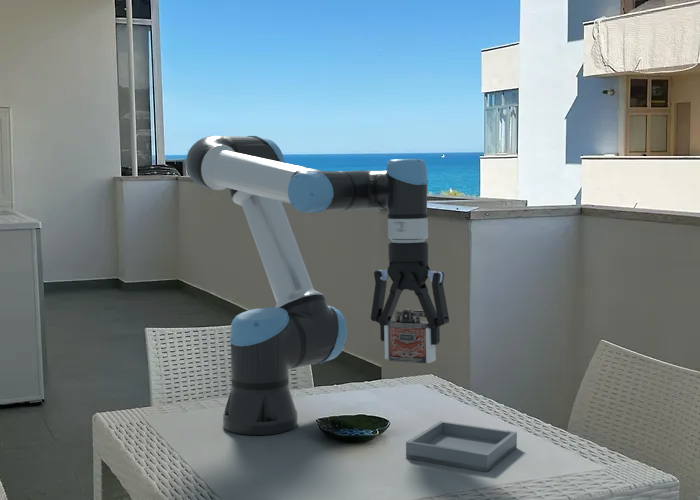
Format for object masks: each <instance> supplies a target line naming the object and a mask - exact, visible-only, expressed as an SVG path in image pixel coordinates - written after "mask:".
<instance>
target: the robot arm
mask: <svg viewBox="0 0 700 500" xmlns="http://www.w3.org/2000/svg"><path fill="white" fill-rule="evenodd" d="M185 169H186V171H187V175H188V176H189V177H190V179H191V180H192V181H193V183H195V184H197V186H200V187H202V188H206V189H211V190H215V191H222V190H228V191H229V193H230V196H231V199H232V201H233V203H235V204H236V205H238V206H242V210H243V212H244V215H245V218H246V221H247V224H248V227H249V230H250V232H251V235H252V237H253V240H254V243H255V246H256V249H257V251H258V255H259V257H260V261H261V262H262V266H263V268H264V271H265V274H266V277H267V280H268V283H269V286H270V288H271V290H272V294H273V297H274V299H275V302H276V304H275V307H274V306H273V307H263V308H259V307H258V308H254V309H253V308H252V309H249V310H246V311H243V312H241V313H238V314H237V315H235V317H234V318H232V320H231V324H230V335H229V342H230V371H231V373H230V374H231V375H230V376H231V377H230V379H231V380H230V381H231V384H230V385H231V388H230V392H229V395H228V399H227V402H226V405H225V408H224V411H223V415H222V423H223V424H222V427H223V428H224V429H225V430H226V431H228V432H231V433H235V434H240V435H247V436H248V435H249V436H262V435H263V436H266V435H273V434H274V435H275V434H281V433H285V432H288V431H291V430H293V429H295V428H296V427H297V426H298V412H297V409H296V406H295V402H294V399H293V396H292V393H291V390H290V384H289V383H290V382H289V377H290V375H289V373H290V372H289V371H290V370H292V369H297V368H301V367H307V366H312V365H320V364H323V363H325V362H328V361H333V360H335V359H336V358H337V357H338V356H339V355H340V354H341V353H342V351H343V350H344V347H345V342H346V341H347V337H348V336H347V335H348V331H347V330H348V328H347V323H346V319H345V317H344V315H343V313H342V312H341V311H340V310H339V309H337V307H334V306H332V305H328V303H327V301H326V298H325V295H324V293H322V292H320V291H318V290H315V288H314V286H313V283H312V280H311V278H310V275H309V273H308V269H307V267H306V264H305V261H304V259H303V256H302V254H301V251H300V249H299V246H298V242H297V240H296V237H295V235H294V232H293V229H292V227H291V224H290V220H289V218H288V215H287V213H286V210H285V208H284V205H283V203H286V204H289V205H291V206H293V208H294V210H296V211H298V212H301V213H309V214H310V213H311V214H317V213H323V212H335V211H337V212H339V211H340V212H341V211H342V212H343V211H358V210H362V211H363V210H387V237H388V239H389V240H391V242H389V243H388V245H387V247H388V250H387V252H388V262H389V264H388V266H387V269H378V270H374V272H373V275H374V276H373V277H374V281H375V282H374V283H375V284H374V290H373V299H372V305H371V306H372V307H371V312H370V313H371V314H370V320H371V321H372V322H376V323H378V324H379V326H380V339H381V341H382V342H384V360H390V326H389V322H390V321H392V318H393V315H394V314H395V311H396V307H397V305H398V302H399V299H400V297H401V294H402V293H403V292H404V290H405V291H406V290H408V291H413V292H414V295H415V296H416V297H417V299H418V301H419V304H420V306H421V308H422V309H421V310H423V311H424V314H425V316H426V317H425V318H426V320H427V321H426V322H428V323H429V327H428V328H426V363H425V364H430V363H433V362H435V361H437V360H436V359H437V357H436V356H437V355H436V354H437V352H436V348H437V347H436V346H437V345H439V344H440V342H441V338H440V337H441V335H440V334H441V333H440V330H441V329H440V328H441V326H444V325H446V324H448V323H449V322H450V316H449V311H448V305H447V299H446V294H445V289H444V287H445V286H444V279H445V273H444V271H441V270H440V271H436V270H431V268H430V266H429V243H428V242H427V241H426V240H427V239H428V238H429V227H428V226H429V225H428V224H429V223H428V222H429V221H428V184H429V180H428V174H427V164H426V162H425V160H423V159H420V158H399V159H397V158H395V159H389V160H388V161H387V162H386V169H385V170H342V171H341V170H338V171H335V170H334V171H333V170H331V171H330V170H329V171H328V170H320V169H315V168H309V167H305V166H302V165H296V164H291V163H288V162H287V163H286V161H285V156H284V154H283V152H282V150H281V148H280V147H279V145H278V144H277V143H276V142H275V141H273V140H272V139H270V138H268V137H261V136H256V135H248V136H236V135H235V136H234V135H233V136H231V135H209V136H205V137H202V138H200V139H198V140H197V141H196V142H195V143H194V144H192V146H191V147H190V148H189V150H188V151H187V154H186V159H185ZM389 277H390V280H391V281H392V284H391V287H390V289H389V294H388V297H387V299H386V302H385V298H386V297H385V296H386V292H387V291H386V290H387V282H388V279H389ZM428 278H429V280H430V283H431V288H432V294H433V301H434V304H433V301H432V299H431V296H430V294H429V288H428V286H427V284H426V281H427V279H428ZM384 304H385V305H384Z"/></svg>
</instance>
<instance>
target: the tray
mask: <svg viewBox="0 0 700 500" xmlns="http://www.w3.org/2000/svg"><path fill="white" fill-rule="evenodd" d="M517 446H518V432H517V431H510V430H504V429H498V428H490V427H485V426H484V427H483V426H476V425H471V424H470V425H469V424H465V423H456V422H449V421H443V420H440V421H438V422H436V423H434V424H433V425H431V426H430V427H428V428H427V429H425V430H423V431H422V432H420V433H418V434H417V435H415V436H414V437H412V438H410V439H409V440H408V441H407V440H406V441H405V459H409V460H414V461H420V462H425V463H426V462H427V463H432V464H439V465H445V466H450V467H456V468H460V469H461V468H463V469H468V470H473V471H478V472H479V471H480V472H484V473H485V472H486V473H488V472H489V471H490V470H491V469H493V468H494V467H496V466H497V464H499V463H500V462H502V461H503V460H504V459H505V458H506V457H507V456H508V455H510V454H511V453H513V451H515V450H516V449H517Z"/></svg>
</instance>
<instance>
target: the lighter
mask: <svg viewBox="0 0 700 500" xmlns="http://www.w3.org/2000/svg"><path fill="white" fill-rule="evenodd" d="M394 318H395V320H391V321H390V322H389V326H390V359H389V361H390V362H393V363H405V364H407V363H408V364H427V363H426V328H428V327H429V323H428V321H421V318H426V316H425V314H424V311H423V309H413V310H412V309H411V308H410V307H409V308H405V309H403V310H401V309H399V310H396V309H395V310H394Z"/></svg>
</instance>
